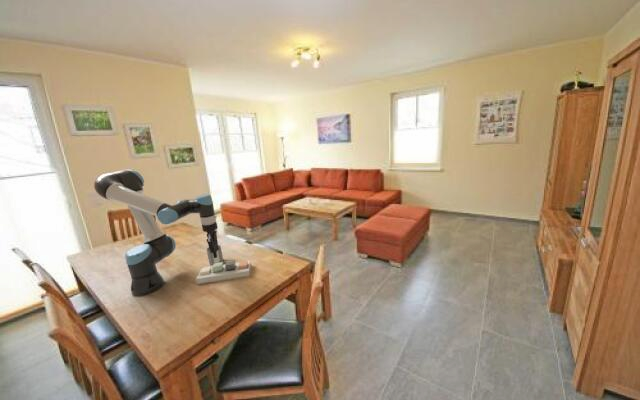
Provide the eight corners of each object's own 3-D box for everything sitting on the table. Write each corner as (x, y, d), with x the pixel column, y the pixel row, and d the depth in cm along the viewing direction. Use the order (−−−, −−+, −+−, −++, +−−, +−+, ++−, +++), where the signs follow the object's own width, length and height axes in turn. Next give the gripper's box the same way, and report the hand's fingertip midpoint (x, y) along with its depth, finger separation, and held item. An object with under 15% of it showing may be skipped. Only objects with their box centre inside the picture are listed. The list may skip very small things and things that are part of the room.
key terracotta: (239, 272, 144) (238, 266, 143) (240, 268, 148) (239, 262, 147) (247, 271, 145) (246, 265, 144) (248, 267, 149) (247, 261, 148)
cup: (218, 265, 156) (215, 251, 154) (206, 265, 158) (203, 250, 155) (225, 259, 164) (223, 245, 162) (214, 258, 166) (211, 244, 163)
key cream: (200, 278, 141) (199, 272, 140) (203, 274, 145) (201, 268, 144) (209, 277, 141) (208, 270, 140) (211, 272, 146) (210, 266, 145)
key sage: (213, 273, 141) (212, 267, 140) (215, 269, 146) (213, 263, 145) (222, 272, 142) (220, 266, 141) (223, 268, 147) (222, 262, 145)
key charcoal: (226, 272, 142) (225, 265, 141) (227, 267, 147) (226, 261, 146) (234, 270, 143) (233, 264, 142) (236, 266, 148) (235, 260, 147)
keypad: (197, 284, 137) (196, 278, 136) (203, 273, 149) (202, 267, 148) (249, 276, 142) (248, 270, 141) (251, 265, 153) (250, 260, 152)
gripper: (213, 226, 130) (221, 266, 137) (218, 218, 143) (226, 255, 149) (198, 228, 129) (207, 268, 136) (204, 220, 142) (212, 257, 148)
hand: (217, 261), depth 142 cm, fingers closed
